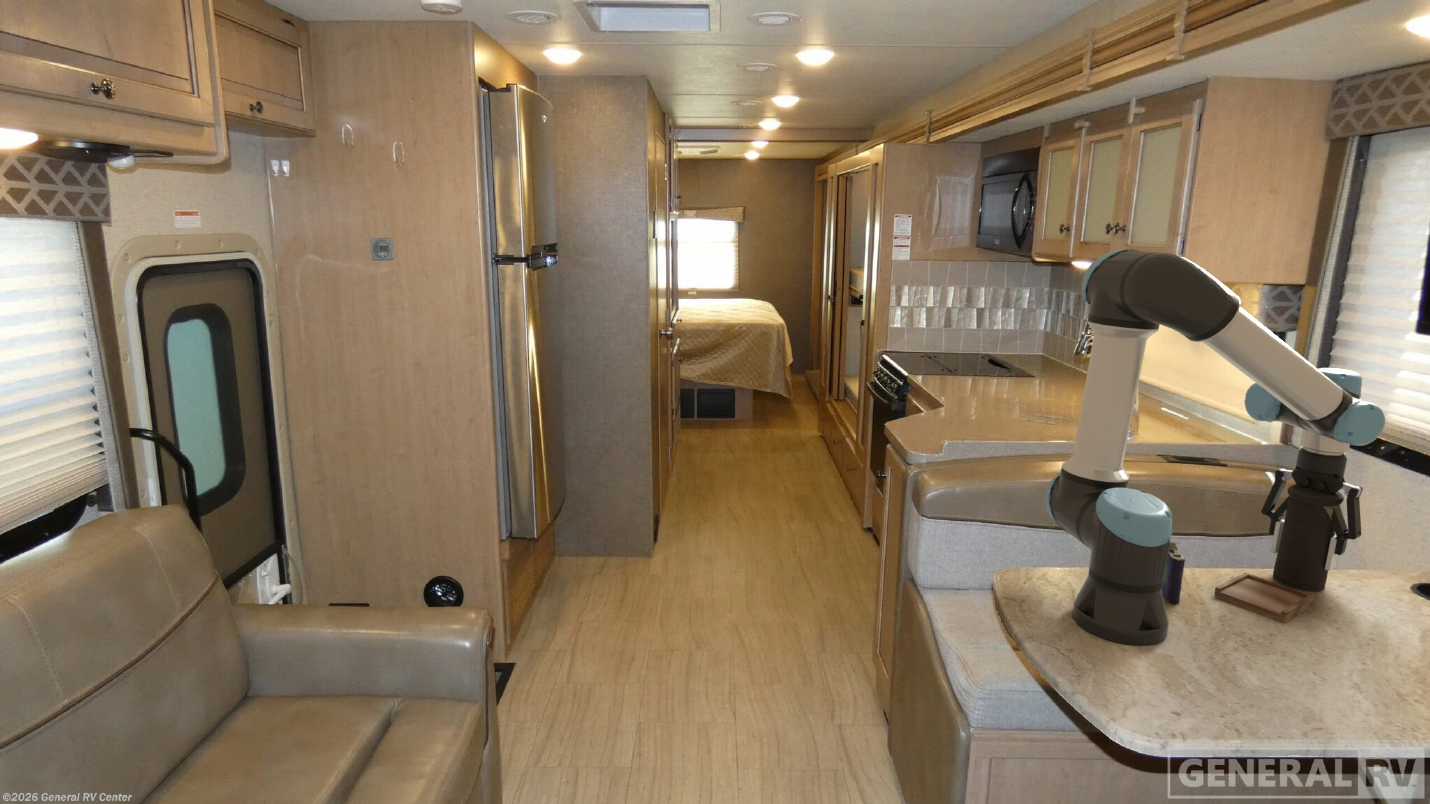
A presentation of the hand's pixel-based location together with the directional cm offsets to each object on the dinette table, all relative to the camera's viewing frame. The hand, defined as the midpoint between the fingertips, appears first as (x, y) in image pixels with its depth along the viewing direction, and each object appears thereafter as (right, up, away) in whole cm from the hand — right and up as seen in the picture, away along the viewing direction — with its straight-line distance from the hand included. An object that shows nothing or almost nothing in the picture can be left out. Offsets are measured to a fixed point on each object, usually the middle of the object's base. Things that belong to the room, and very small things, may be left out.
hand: (1302, 559), depth 159 cm
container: (0, -5, +1) cm, 5 cm away
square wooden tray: (-12, -6, -6) cm, 15 cm away
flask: (-29, -6, -4) cm, 30 cm away
